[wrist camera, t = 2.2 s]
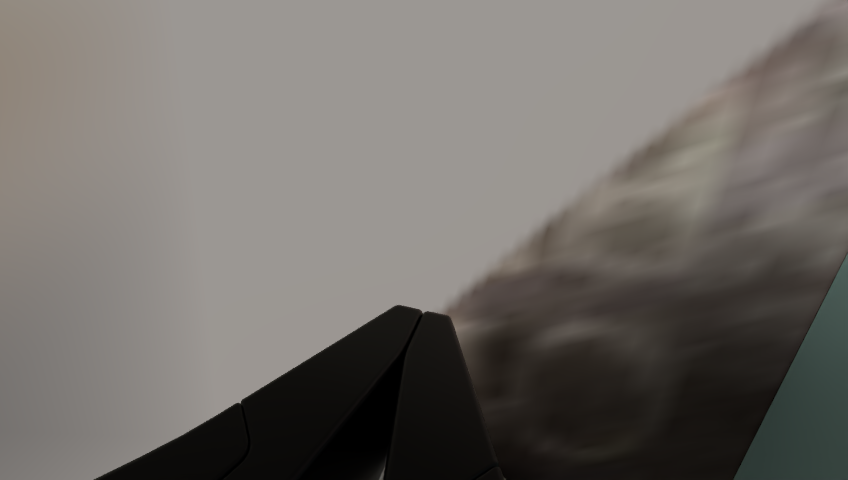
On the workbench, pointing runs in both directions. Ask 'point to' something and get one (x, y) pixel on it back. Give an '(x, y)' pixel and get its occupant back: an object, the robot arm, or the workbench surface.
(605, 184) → the workbench surface
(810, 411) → the tray
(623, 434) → the workbench surface
